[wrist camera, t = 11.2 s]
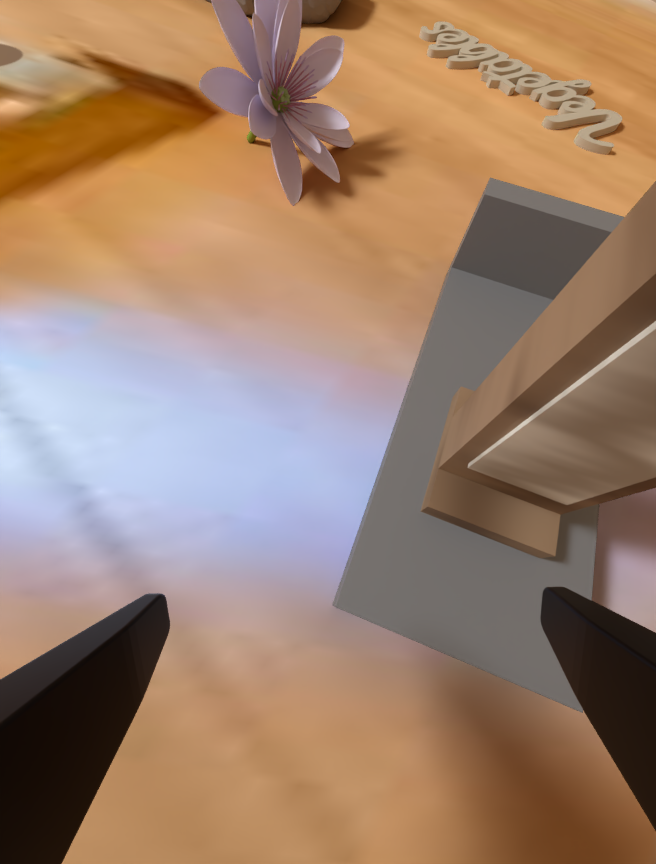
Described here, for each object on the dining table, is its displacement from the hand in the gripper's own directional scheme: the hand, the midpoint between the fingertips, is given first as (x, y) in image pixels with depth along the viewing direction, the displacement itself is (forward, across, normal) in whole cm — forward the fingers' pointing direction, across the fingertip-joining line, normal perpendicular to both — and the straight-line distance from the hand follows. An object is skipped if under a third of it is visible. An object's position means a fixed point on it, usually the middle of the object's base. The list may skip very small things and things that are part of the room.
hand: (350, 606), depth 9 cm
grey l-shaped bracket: (+14, -9, 0) cm, 17 cm away
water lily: (+28, +4, -22) cm, 36 cm away
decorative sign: (+40, -20, -33) cm, 56 cm away
